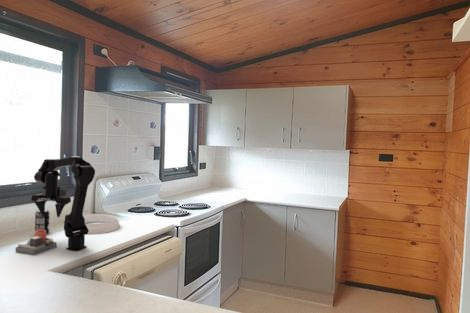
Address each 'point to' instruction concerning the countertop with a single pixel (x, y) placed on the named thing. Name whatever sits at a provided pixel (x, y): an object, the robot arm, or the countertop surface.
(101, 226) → the pale pink ring
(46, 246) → the breaker panel
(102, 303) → the countertop surface
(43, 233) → the cap
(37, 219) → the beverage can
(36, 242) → the block
